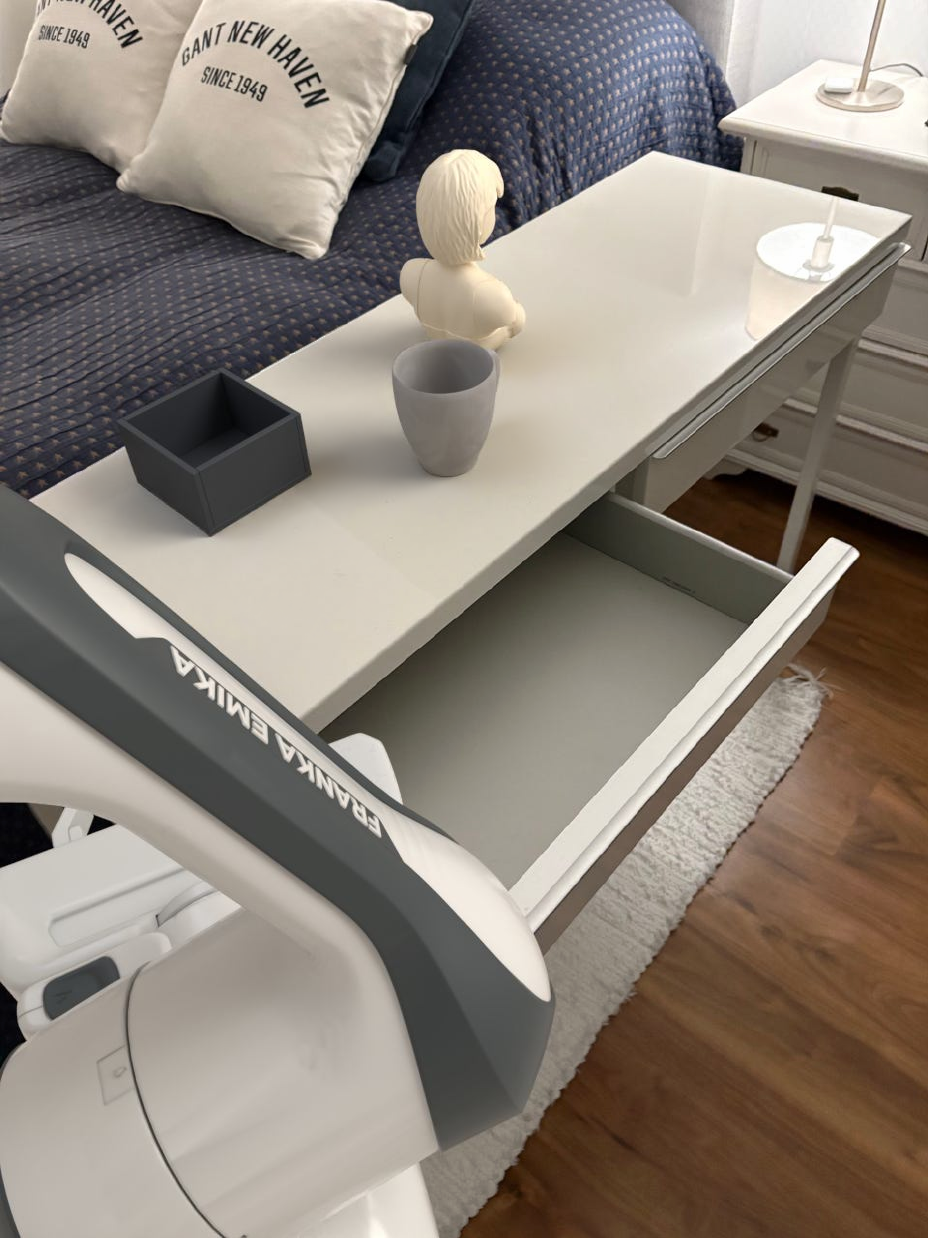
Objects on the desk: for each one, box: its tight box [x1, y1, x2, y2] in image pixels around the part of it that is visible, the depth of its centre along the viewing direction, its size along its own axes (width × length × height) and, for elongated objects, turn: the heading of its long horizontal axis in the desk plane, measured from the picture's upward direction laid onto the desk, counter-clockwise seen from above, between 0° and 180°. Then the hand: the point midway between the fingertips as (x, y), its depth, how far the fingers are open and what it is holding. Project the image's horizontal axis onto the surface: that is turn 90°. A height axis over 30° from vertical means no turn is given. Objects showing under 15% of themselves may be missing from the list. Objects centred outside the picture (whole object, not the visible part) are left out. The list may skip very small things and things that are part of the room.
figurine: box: [399, 148, 527, 351], centre depth 93 cm, size 14×9×20 cm
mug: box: [391, 339, 501, 477], centre depth 85 cm, size 12×9×10 cm
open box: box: [115, 366, 313, 537], centre depth 85 cm, size 11×11×7 cm
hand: (172, 747), depth 52 cm, fingers open, 8 cm apart
